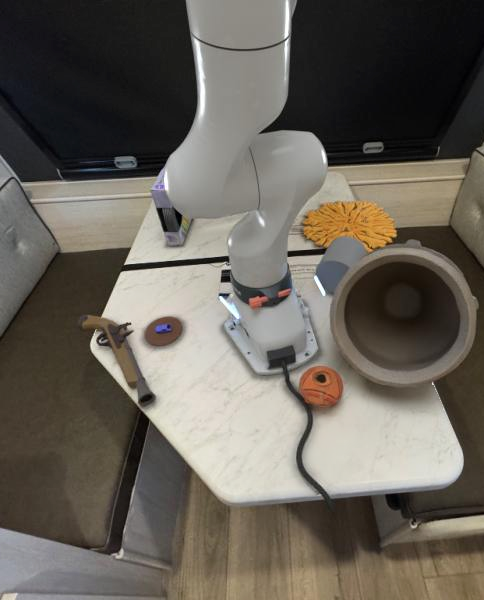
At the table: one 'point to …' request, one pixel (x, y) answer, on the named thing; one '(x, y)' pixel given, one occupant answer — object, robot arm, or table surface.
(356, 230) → the coral
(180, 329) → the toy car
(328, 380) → the pot
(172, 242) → the cake pan box
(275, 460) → the table surface
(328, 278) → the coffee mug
